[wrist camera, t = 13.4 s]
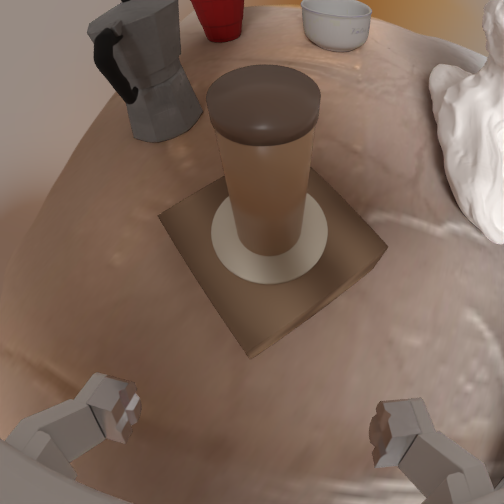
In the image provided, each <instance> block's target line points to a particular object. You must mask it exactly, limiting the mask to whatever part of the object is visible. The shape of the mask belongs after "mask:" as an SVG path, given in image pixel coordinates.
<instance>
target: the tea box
mask: <svg viewBox="0 0 504 504" xmlns="http://www.w3.org/2000/svg"><path fill="white" fill-rule="evenodd" d="M503 487H504V478H503V479H502V480H501V482H500V483H499V484H498V485H497V486H496V487H495V489H494V490H495V491H497V490H499V489H501V488H503Z"/></svg>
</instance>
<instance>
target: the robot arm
mask: <svg viewBox="0 0 504 504" xmlns="http://www.w3.org/2000/svg"><path fill="white" fill-rule="evenodd" d="M136 391H137V387H136V384H135V382H132V381H129V380H125V379H121V378H117V377H114V376H110V375H106V374H102V373H99V372H96V373H94V374H93V375H92V376H91V378H90V379H89V380H88V382H87V383H86V384H85V385H84V387H83V388H82V389H81V391H80V392H79V393H78V395H77V396H76V397H75V399H74V400H72V399H69V400H67V401H64V402H62V403H60V404H57V405H55V406H53V407H50V408H48V409H46V410H43V411H41V412H39V413H36V414H34V415H31V416H29V417H26V418H24V419H22V420H21V421H20V422H19V423H18V425H17V426H16V427H15V428H14V430H13V431H12V432H11V433H10V435H9V436H8V437H7V439H6V440H5V441H4V440H2V439H1V438H0V504H134V503H131V502H128V501H125V500H122V499H119V498H117V497H114V496H111V495H108V494H106V493H103V492H101V491H98V490H96V489H93V488H91V487H89V486H86V485H84V484H82V483H79V482H77V481H75V478H76V476H77V473H76V471H75V470H74V469H73V467H72V466H71V465H70V462H72V461H73V460H75V459H76V458H78V457H79V456H81V455H82V454H84V453H86V452H87V451H89V450H90V449H92V448H93V447H95V446H96V445H98V444H99V443H101V442H102V441H104V440H105V438H107V439H110V440H113V441H117V442H120V443H124V444H126V443H127V441H128V439H129V437H130V435H131V433H132V432H133V430H132V426H131V425H133V424H135V423H136V422H138V420H139V418H140V415H141V410H142V405H141V400H140V398H139V397H138V396H137V395H136V394H135V392H136ZM376 412H377V414H376V415H375V416H373V417H372V420H371V422H370V427H369V439H370V443H371V444H372V445H373V446H375V448H374V450H373V452H372V456H373V461H374V467H375V468H378V467H389V466H398V468H399V469H400V470H401V471H402V472H403V473H404V474H405V475H406V476H407V477H408V479H409V480H410V481H411V482H412V483H413V484H414V485H415V486H416V487H417V488H418V489H419V490H420V492H421V493H422V494H423V495H424V496H425V497H426V498H427V499H426V500H425V501H424V502H423V503H421V504H504V487H503V488H501V489H499V490H497V491H495V490H494V488H493V485H492V482H491V479H490V477H489V474H488V471H487V469H486V466H485V464H484V463H483V462H482V461H480V460H479V459H477V458H476V457H475V456H473V455H472V454H470V453H469V452H468V451H466V450H465V449H464V448H462V447H461V446H459V445H458V444H457V443H455V442H454V441H452V440H451V439H450V438H448V437H447V436H446V435H444V434H443V433H442V432H440V431H437V432H436V430H435V428H434V425H433V423H432V420H431V418H430V415H429V413H428V410H427V408H426V405H425V403H424V401H423V399H422V398H421V397H420V398H411V399H400V400H389V401H380V402H379V403H378V405H377V407H376Z"/></svg>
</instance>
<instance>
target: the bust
mask: <svg viewBox="0 0 504 504" xmlns="http://www.w3.org/2000/svg"><path fill="white" fill-rule="evenodd" d="M482 27H483V30H484V32H485V35H486V39H487V41H486V50H487V51H488V52H489V56H488V59H487V62H486V63H485V65H484V67H483V68H482V69H481V70H480V71H479V72H478V73H476V74H472V73H470V72H466V71H464V70H463V69H461V68H460V67H458V66H451V65H447V64H439V65H437V66H436V67H434V68H433V70H432V72H431V74H430V77H429V90H430V95H431V99H432V101H433V113H434V117H435V120H436V123H437V125H438V127H437V135H438V140H439V143H440V145H441V148H442V151H443V156H444V169H445V174H446V177H447V180H448V182H449V185H450V188H451V190H452V192H453V195H454V197H455V199H456V202H457V204H458V206H459V208H460V209H461V211H462V212H463V214H464V215H465V216H466V217H467V219H468V220H469V221H470V222H472V223H473V224H474V225H475V226H476V227H478V228H479V229H480V230H481V231H482V232H483V234H484V235H485V236H486V237H487V238H488V239H489V240H490V241H492V242H493V243H495V244H504V0H489V2H488V3H487V4H486V5H485V7H484V15H483V22H482Z"/></svg>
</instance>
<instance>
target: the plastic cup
mask: <svg viewBox="0 0 504 504" xmlns="http://www.w3.org/2000/svg"><path fill="white" fill-rule="evenodd" d="M190 1H191V2H192V4H193V7H194V9H195V11H196V14H197V16H198V19H199V21H200V23H201V25H202V27H203V29H204V32H205V34H206V37H207V38H208V40H210V41H212V42H227V41H231V40H234V39H236V38H238V37H239V36H240V33H241V28H242V19H243V9H244V0H190Z"/></svg>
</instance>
